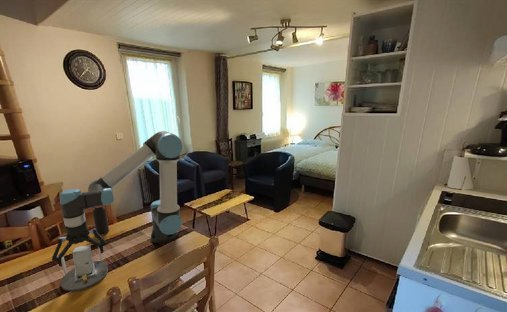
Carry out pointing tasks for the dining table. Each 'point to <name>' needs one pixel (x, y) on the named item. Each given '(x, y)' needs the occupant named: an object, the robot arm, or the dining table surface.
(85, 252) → the skincare box
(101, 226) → the bottle
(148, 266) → the dining table surface
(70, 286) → the flange plate
